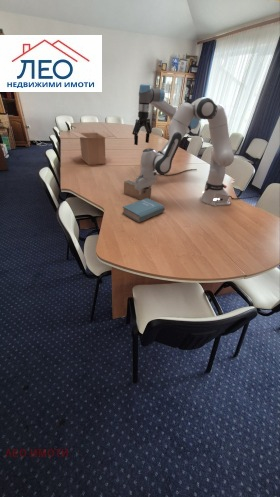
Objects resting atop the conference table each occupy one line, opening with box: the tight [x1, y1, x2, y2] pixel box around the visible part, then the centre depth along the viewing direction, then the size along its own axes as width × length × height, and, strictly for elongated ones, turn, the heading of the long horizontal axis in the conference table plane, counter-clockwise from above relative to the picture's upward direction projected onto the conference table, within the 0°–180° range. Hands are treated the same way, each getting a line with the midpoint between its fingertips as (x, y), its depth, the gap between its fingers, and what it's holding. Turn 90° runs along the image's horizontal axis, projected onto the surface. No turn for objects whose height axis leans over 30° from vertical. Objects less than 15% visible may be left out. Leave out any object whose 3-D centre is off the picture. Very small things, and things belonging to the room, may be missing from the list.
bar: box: [123, 179, 152, 201], centre depth 166 cm, size 22×5×10 cm, turn 51°
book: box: [122, 198, 165, 224], centre depth 146 cm, size 23×16×5 cm
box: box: [70, 129, 114, 166], centre depth 229 cm, size 44×36×27 cm
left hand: (141, 143), depth 169 cm, fingers open, 13 cm apart
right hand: (144, 192), depth 162 cm, fingers open, 8 cm apart
